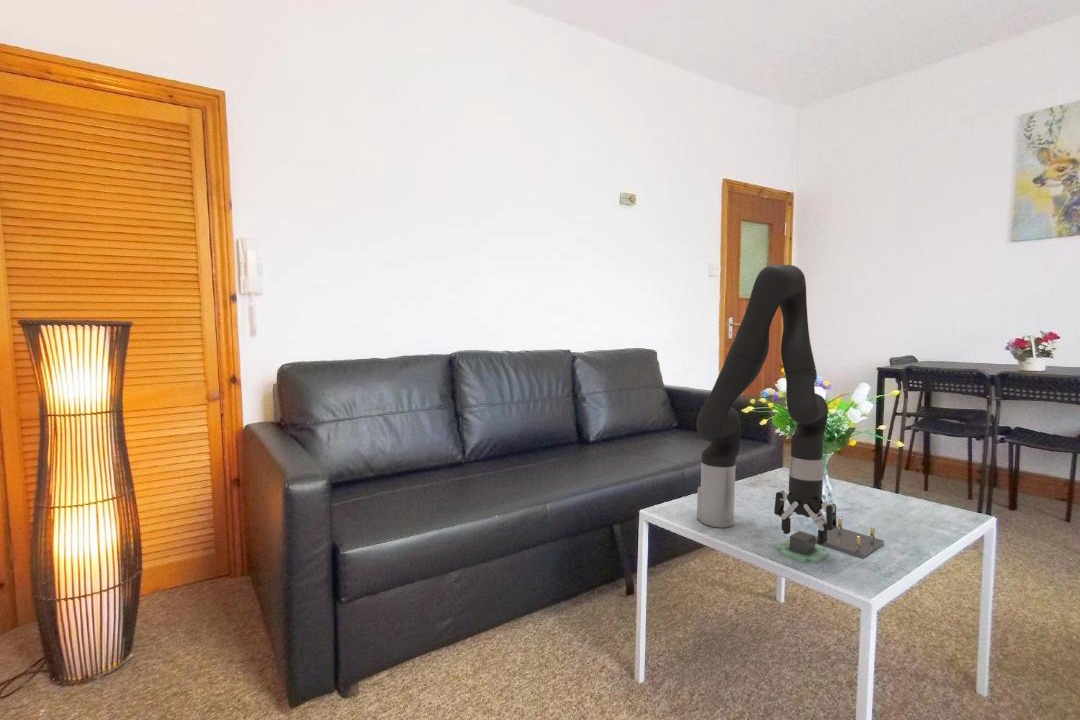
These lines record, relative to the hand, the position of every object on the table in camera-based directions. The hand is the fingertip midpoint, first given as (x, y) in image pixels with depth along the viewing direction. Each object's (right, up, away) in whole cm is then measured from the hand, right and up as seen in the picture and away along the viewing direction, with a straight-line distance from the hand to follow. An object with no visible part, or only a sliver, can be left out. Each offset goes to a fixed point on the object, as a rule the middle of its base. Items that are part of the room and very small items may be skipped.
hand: (803, 538), depth 136 cm
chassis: (+14, -3, +6) cm, 16 cm away
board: (0, -4, +1) cm, 4 cm away
